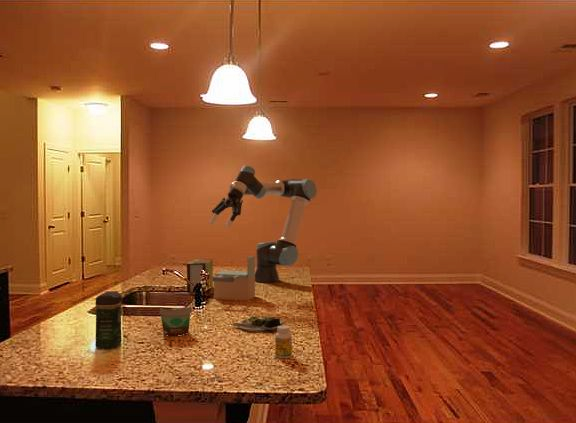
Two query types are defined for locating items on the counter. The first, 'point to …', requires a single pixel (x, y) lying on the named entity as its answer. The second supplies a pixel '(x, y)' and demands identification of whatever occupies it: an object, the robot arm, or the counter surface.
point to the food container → (175, 321)
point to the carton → (238, 285)
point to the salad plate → (260, 324)
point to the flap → (229, 276)
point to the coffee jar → (108, 320)
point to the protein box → (198, 272)
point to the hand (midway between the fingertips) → (218, 225)
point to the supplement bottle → (283, 342)
